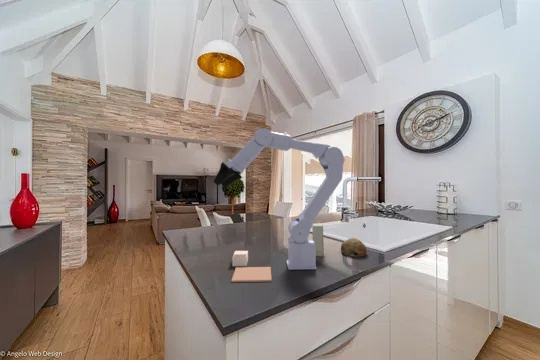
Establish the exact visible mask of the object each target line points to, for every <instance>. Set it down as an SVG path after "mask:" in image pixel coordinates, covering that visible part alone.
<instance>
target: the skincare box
mask: <svg viewBox="0 0 540 360" xmlns="http://www.w3.org/2000/svg"><path fill="white" fill-rule="evenodd" d="M311 229H312V240H313V241H314V243H315V250H316V257H324V256H325V254H324V252H325V250H324V249H325V247H324V245H325V244H324V224H323V223H313V225H312V228H311Z"/></svg>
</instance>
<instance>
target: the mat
mask: <svg viewBox="0 0 540 360" xmlns="http://www.w3.org/2000/svg"><path fill="white" fill-rule="evenodd" d="M258 282H260V283H261V282H262V283H263V282H267V283H268V282H272V267H271V266H235V270H234V272H233V274H232V278H231V283H258Z"/></svg>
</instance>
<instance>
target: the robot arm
mask: <svg viewBox="0 0 540 360" xmlns="http://www.w3.org/2000/svg"><path fill="white" fill-rule="evenodd" d="M267 147H269V148H270V149H275V150H279V151H285V152H287V151H289V150H291V149H293V150H297V151H300V152H306V153H309V154H312V155H313V157H314V158H315V159H318V162H319V164H320V166H321V167H322V168H323V170H324V175H325V178H324V180H323V181H322V183H321V184H320V186H319V187H318V188H317V190H316V191H315V193H314V194H313V195H312V197H311V199H310V200H309V201H308V203H307V204H306V205H305V207H304V209H303V210H302V211H301V213H300V214H298V215H297V216H296V218H295V219H293V220H291V221H290V222H289V224H288V228H287V229H288V232H289V234H290V235H289V236H288V239H287V244H288V245H287V247H288V248H287V249H288V250H287V251H288V253H287V254H288V259H287V260H286V261H285V262H286V265H287V270H317V267H316V266H317V264H316V259H317V258H316V257H317V256H316V250H315V243H314V241H313V239H312V240H311V239H309V236H310V230H311V229H312V225H313V224H314V221H315V219H316V218H317V217H318V215H319V214H320V212H321V211H322V209H323V207H324V206H325V205H326V203H328V201H329V199H330V198H331V196H332V195H333V193H334V191H335V190H336V189H337V188H338V185H339V184H340V183H341V181H342V180H343V171H344V163H345V157H344V154H343V152H342V150H341V149H340V148H338V147H337V146H331V145H329V144H324V143H318V142H312V141H307V140H300V139H293V137H292V135H290V134H288V133H287V132H285V131H284V132H283V133H279V132H276V131H275V132H274V130H272V129H271V130H269V129H268V128H259V129H257V130H256V131H255V133H254V137H253V136H252V138H251V139H250V140H249V141H248V142H247V143H245V145H244V146H243V147H242V148H241V149H240V150H239V152H237V153H236V154H235V156H234V157H232V158H228V159H227V161H226V162H224V161H222V162H221V164H220V167H219V169H218V172H217V174H216V176H215V178H214V179H213V183H214V184H215V185H216V186H220V185H221V186H223V187H224V188H227V187H228V186H230V185H231V184H233V183H234V182H236V181H239V180H241V179H242V178H243V176H242V174H243V173H244V171H245V170H246V169H247V168H248V167H249V166H250V165H251V163H252V162H254V160H255V159H256V158H257V156H259V154H260V153H261V152H262V151H263V150H264V149H265V148H267Z"/></svg>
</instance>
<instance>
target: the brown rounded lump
mask: <svg viewBox="0 0 540 360" xmlns="http://www.w3.org/2000/svg"><path fill="white" fill-rule="evenodd" d="M367 250H368V249H367V246H366V245H365V244H364V243H363V242H362V240H360V239H358V238H354V237H351V238H349V239H348V238H347V240H345V241H343V242H342V243H341V246H340V252H341V253H342V254H344V256H345V255H346V256H349V257H365V256H366V255H367Z"/></svg>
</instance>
